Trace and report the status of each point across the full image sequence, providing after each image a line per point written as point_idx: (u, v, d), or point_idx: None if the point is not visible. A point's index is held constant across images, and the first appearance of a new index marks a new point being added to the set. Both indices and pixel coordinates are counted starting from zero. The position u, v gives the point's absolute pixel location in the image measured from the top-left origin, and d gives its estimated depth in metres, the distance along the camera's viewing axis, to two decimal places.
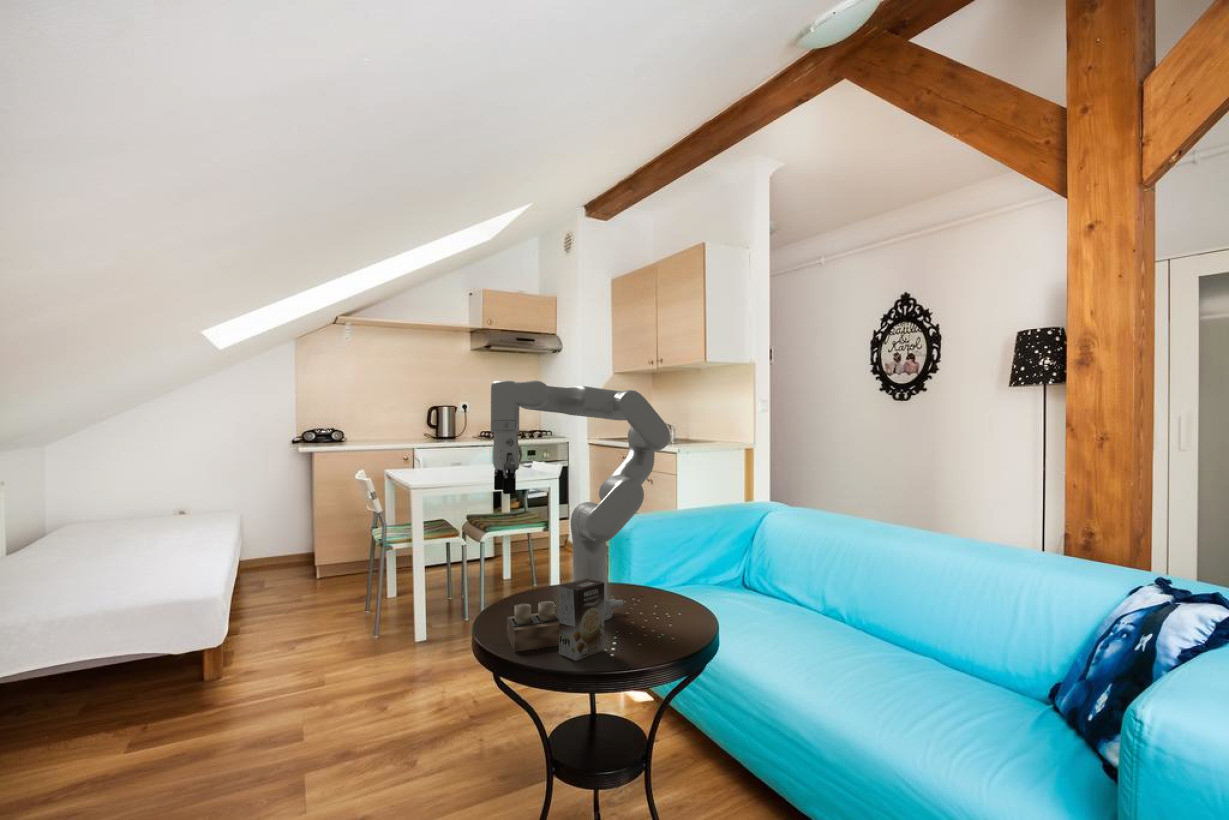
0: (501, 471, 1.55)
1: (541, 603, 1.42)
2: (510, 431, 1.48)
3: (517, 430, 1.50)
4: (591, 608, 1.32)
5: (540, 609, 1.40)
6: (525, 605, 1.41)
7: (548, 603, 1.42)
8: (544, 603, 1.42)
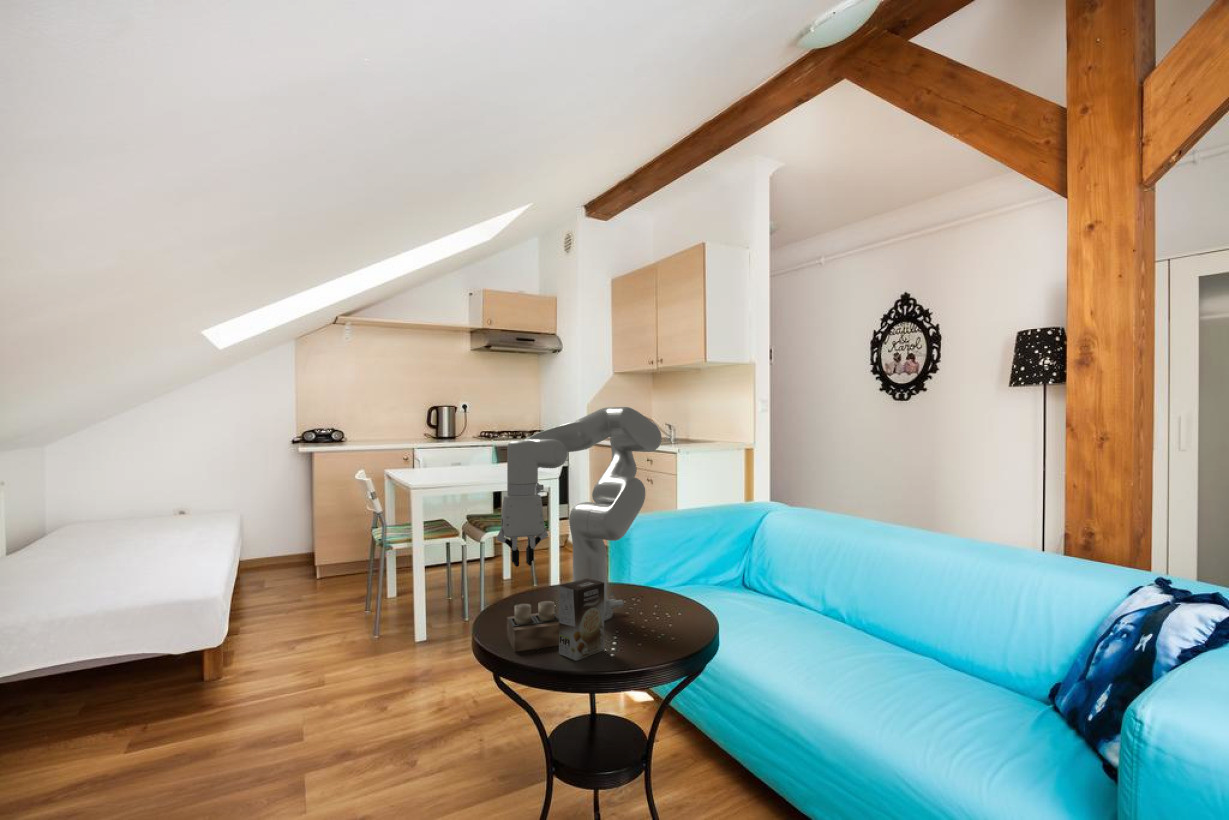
0: None
1: (541, 603, 1.42)
2: None
3: None
4: (591, 608, 1.32)
5: (540, 609, 1.40)
6: (525, 605, 1.41)
7: (548, 603, 1.42)
8: (544, 603, 1.42)
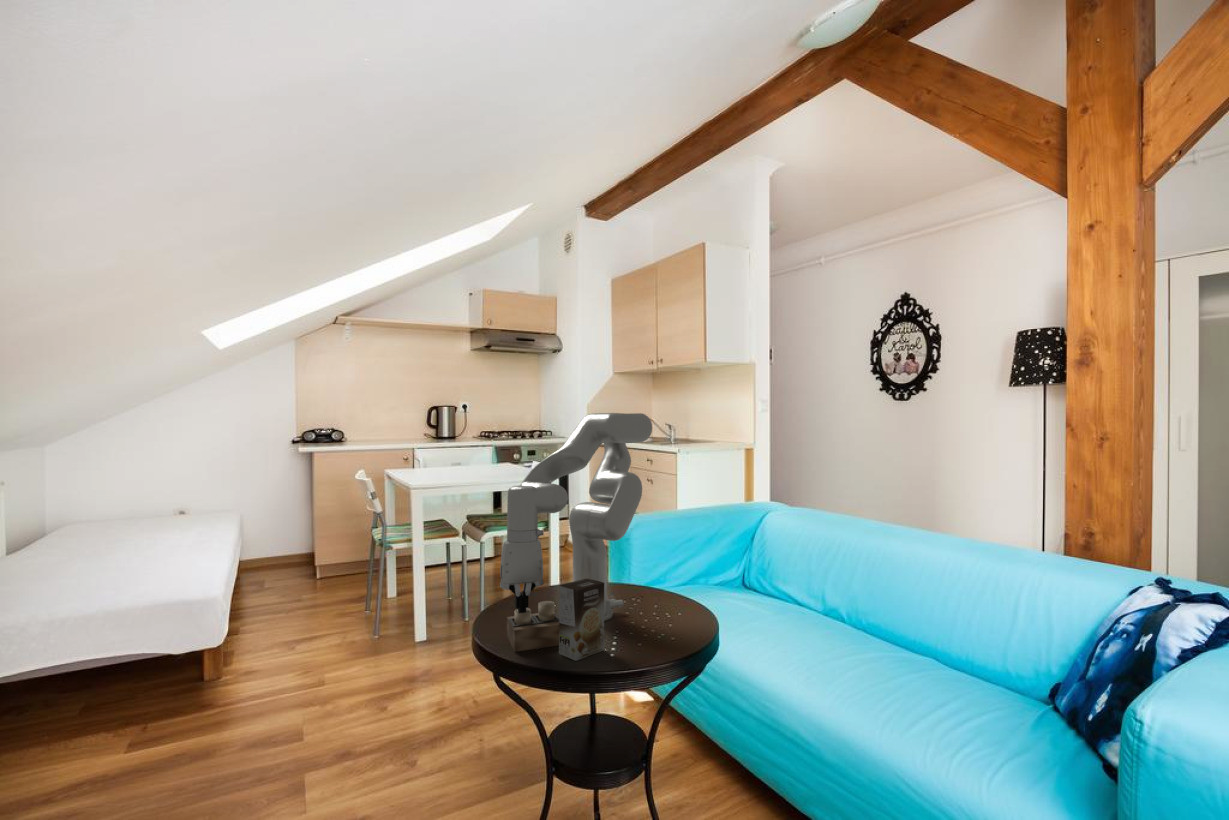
0: None
1: (541, 603, 1.42)
2: None
3: None
4: (591, 608, 1.32)
5: (540, 609, 1.40)
6: None
7: (548, 603, 1.42)
8: (544, 603, 1.42)
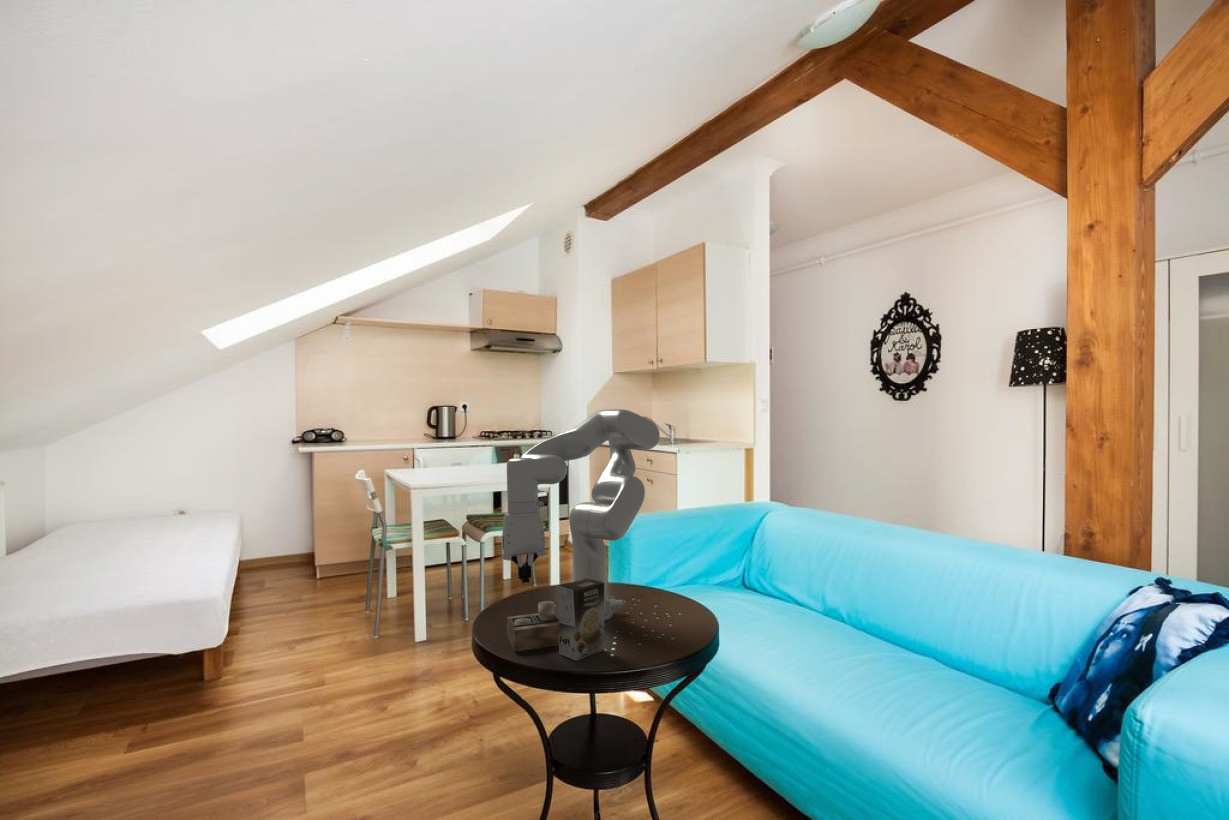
0: None
1: (541, 603, 1.42)
2: None
3: None
4: (591, 608, 1.32)
5: (540, 609, 1.40)
6: (525, 619, 1.40)
7: (548, 603, 1.42)
8: (544, 603, 1.42)
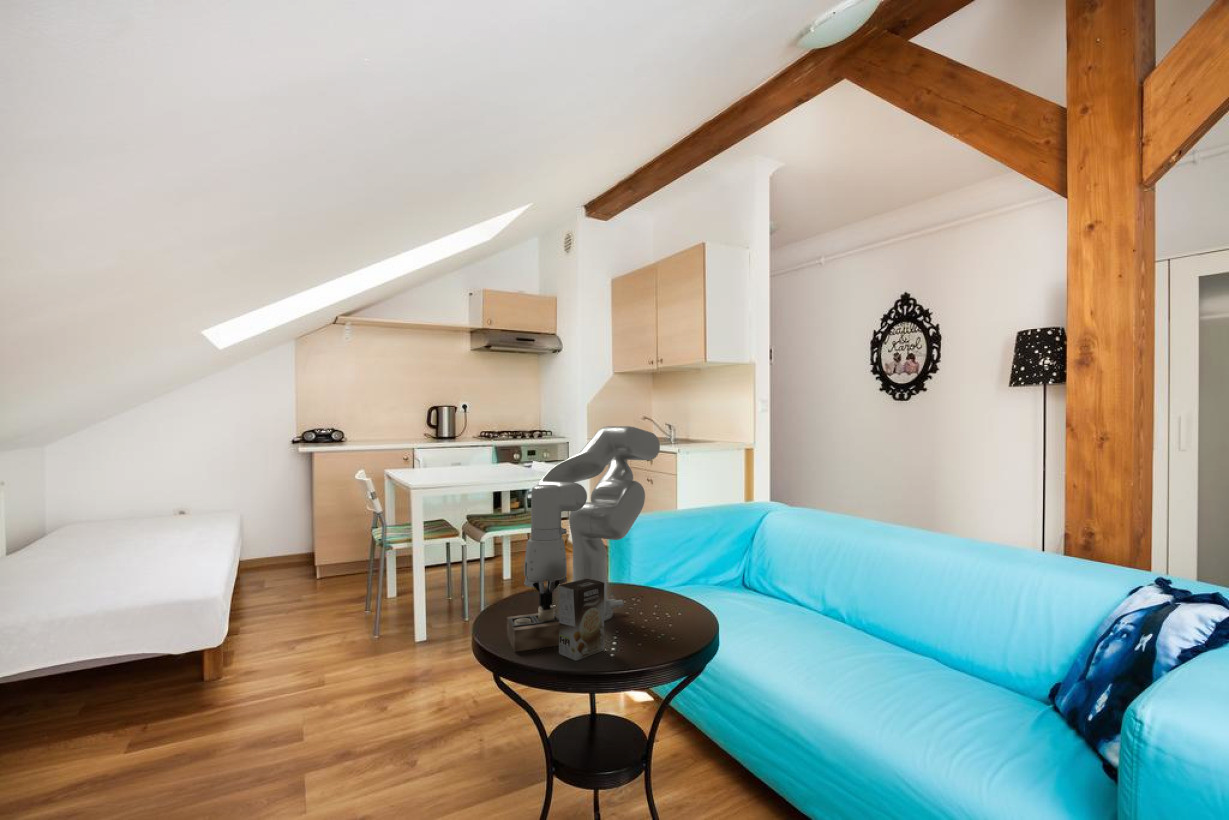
0: None
1: (541, 607, 1.42)
2: None
3: None
4: (591, 608, 1.32)
5: (540, 613, 1.40)
6: (525, 619, 1.40)
7: None
8: None
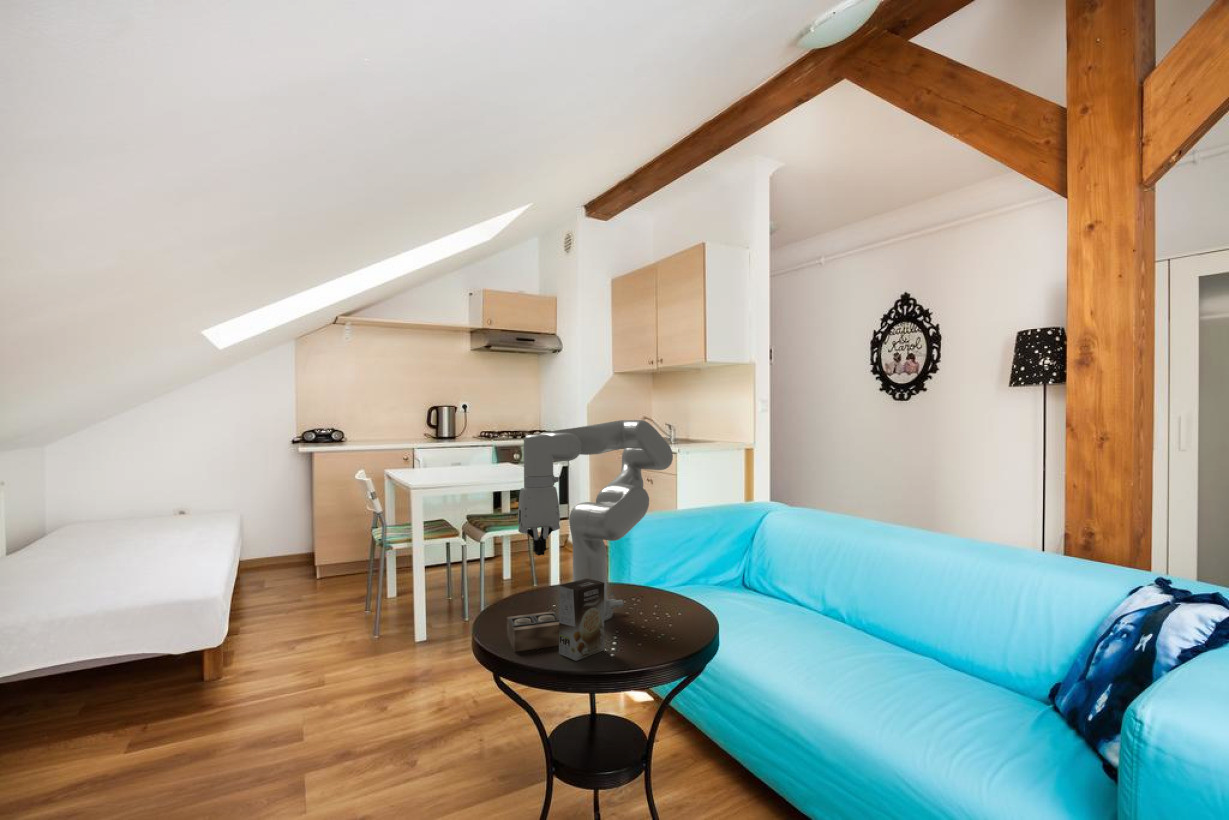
0: None
1: (541, 617, 1.42)
2: None
3: None
4: (591, 608, 1.32)
5: None
6: (525, 619, 1.40)
7: (548, 617, 1.42)
8: (544, 617, 1.42)
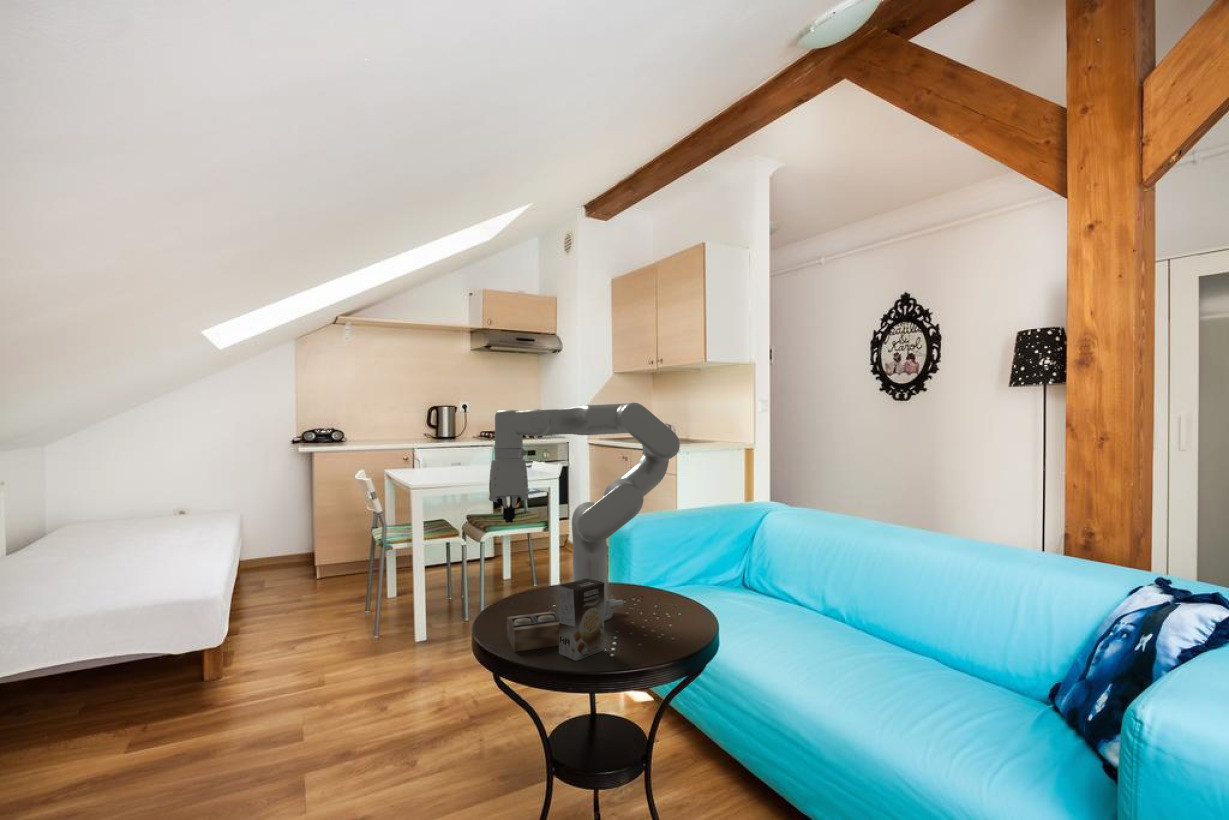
0: None
1: (541, 617, 1.42)
2: None
3: None
4: (591, 608, 1.32)
5: None
6: (525, 619, 1.40)
7: (548, 617, 1.42)
8: (544, 617, 1.42)
